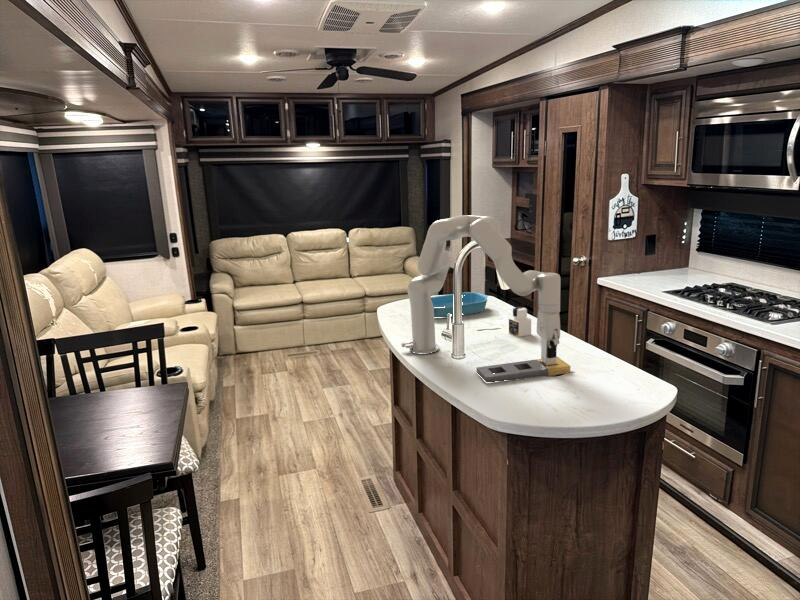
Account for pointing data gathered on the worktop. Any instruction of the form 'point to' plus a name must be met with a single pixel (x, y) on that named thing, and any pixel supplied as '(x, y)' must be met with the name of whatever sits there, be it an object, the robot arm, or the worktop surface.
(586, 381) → the worktop surface
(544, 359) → the steel peg
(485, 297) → the casserole dish
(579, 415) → the worktop surface
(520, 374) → the rail
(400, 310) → the worktop surface
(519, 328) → the medicine bottle
